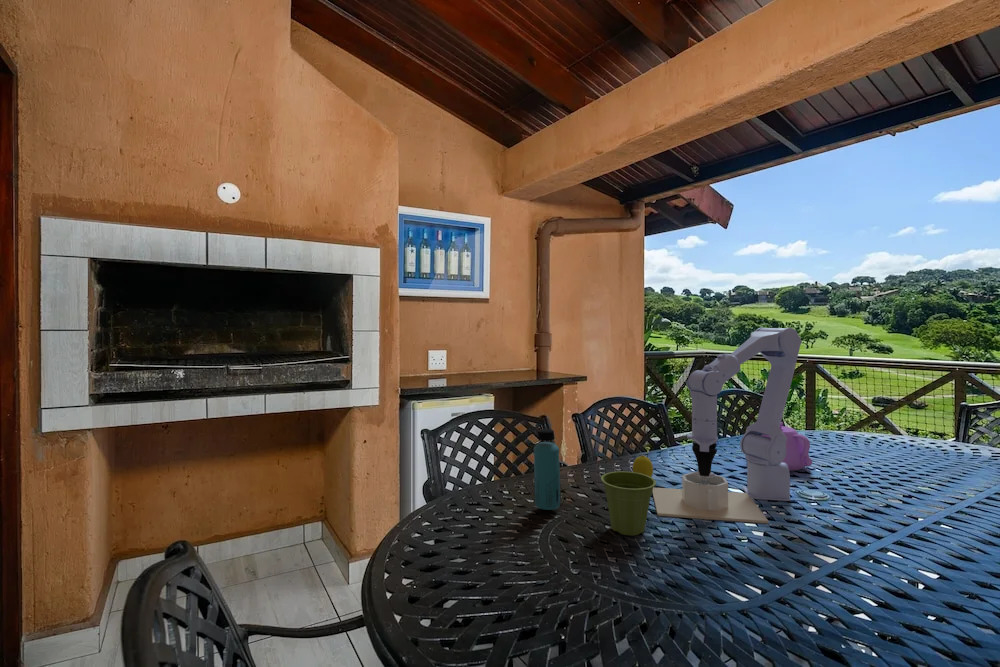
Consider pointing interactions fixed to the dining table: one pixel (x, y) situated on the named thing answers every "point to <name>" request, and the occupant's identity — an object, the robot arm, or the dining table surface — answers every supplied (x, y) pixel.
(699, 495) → the press stand
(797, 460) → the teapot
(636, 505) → the plant pot
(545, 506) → the beverage bottle
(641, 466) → the lemon
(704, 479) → the lid
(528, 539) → the dining table surface
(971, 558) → the dining table surface
